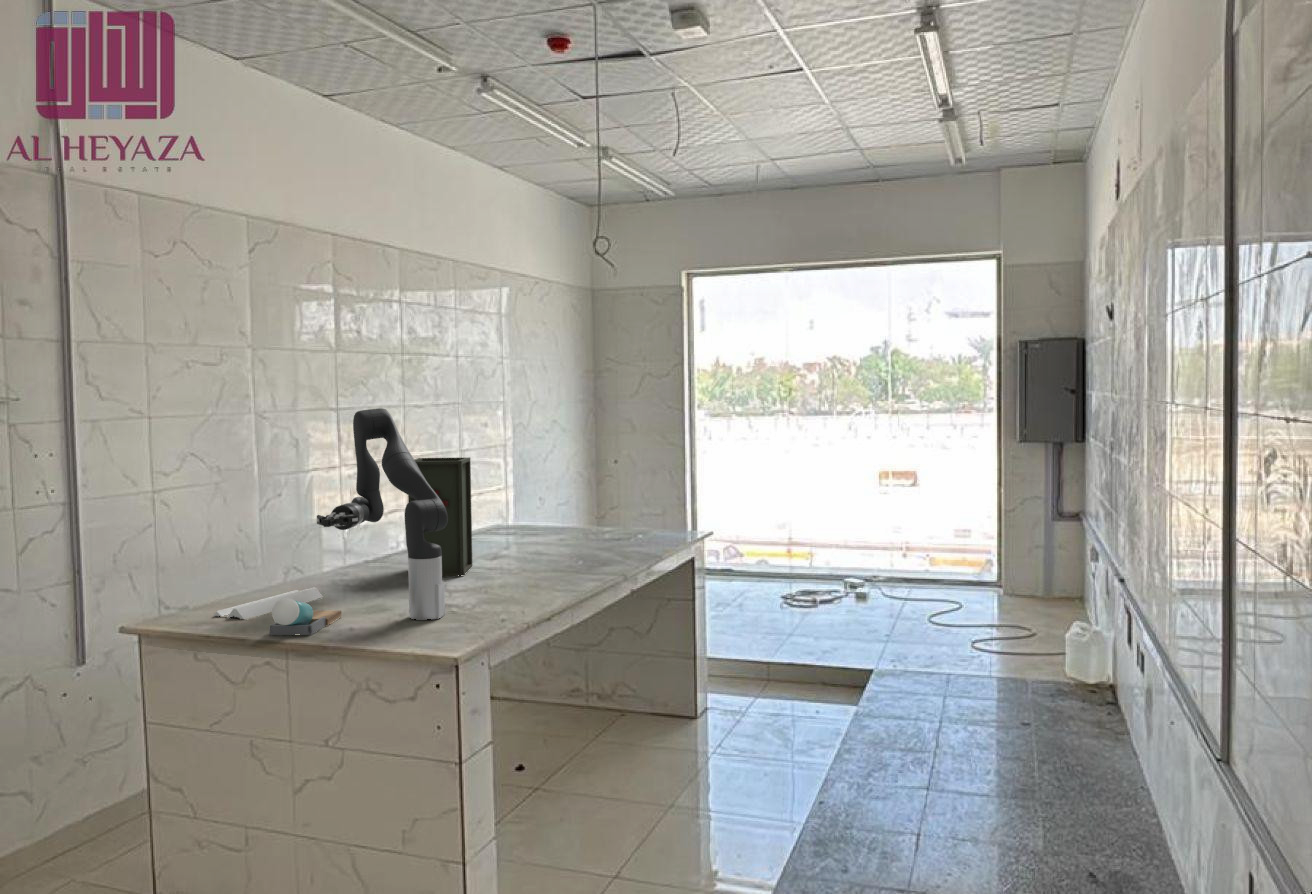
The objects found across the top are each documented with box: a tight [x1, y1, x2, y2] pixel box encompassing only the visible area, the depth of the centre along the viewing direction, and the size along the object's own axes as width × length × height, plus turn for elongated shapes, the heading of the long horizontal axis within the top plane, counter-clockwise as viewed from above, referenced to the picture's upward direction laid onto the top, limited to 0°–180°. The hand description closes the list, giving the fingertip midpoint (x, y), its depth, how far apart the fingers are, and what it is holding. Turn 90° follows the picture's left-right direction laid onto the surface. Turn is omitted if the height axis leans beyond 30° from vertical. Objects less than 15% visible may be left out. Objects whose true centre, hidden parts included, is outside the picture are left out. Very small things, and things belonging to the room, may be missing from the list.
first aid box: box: [407, 457, 473, 577], centre depth 335 cm, size 18×18×40 cm
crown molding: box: [213, 586, 324, 620], centre depth 283 cm, size 31×12×4 cm, turn 157°
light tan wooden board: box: [308, 610, 342, 626], centre depth 263 cm, size 12×10×2 cm
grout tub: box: [271, 598, 314, 625], centre depth 251 cm, size 7×7×11 cm
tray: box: [269, 617, 326, 636], centre depth 254 cm, size 11×10×3 cm
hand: (325, 523), depth 272 cm, fingers closed
